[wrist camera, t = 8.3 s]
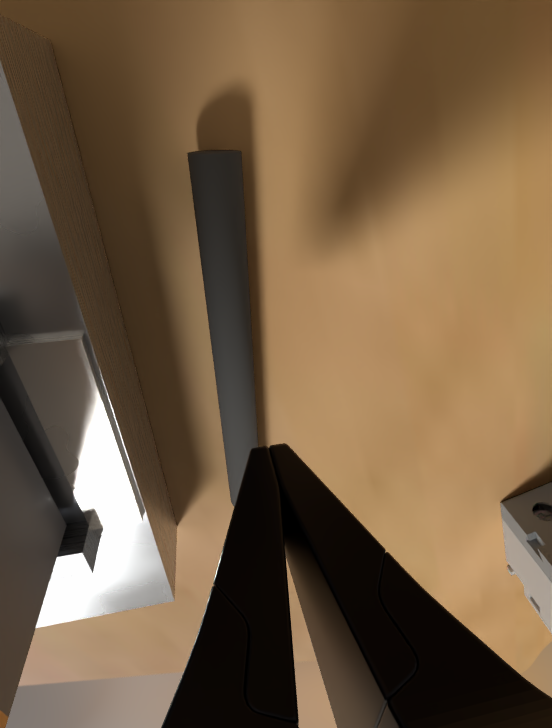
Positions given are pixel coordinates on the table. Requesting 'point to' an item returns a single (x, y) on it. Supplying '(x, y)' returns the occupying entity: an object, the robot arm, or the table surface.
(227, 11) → the table surface
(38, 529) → the toggle
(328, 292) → the table surface
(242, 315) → the dark grey rod
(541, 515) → the circuit breaker
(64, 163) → the panel
